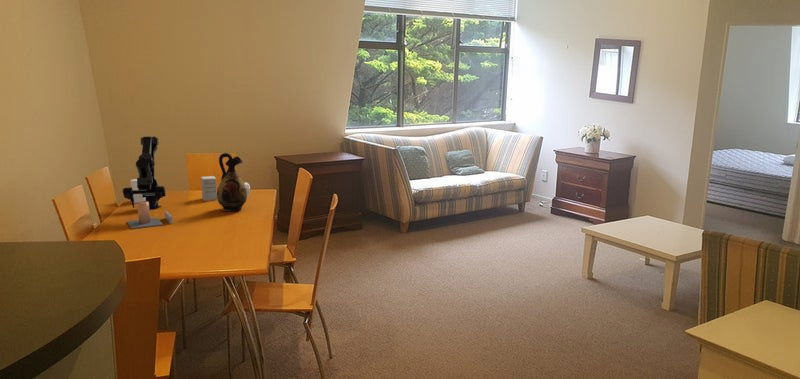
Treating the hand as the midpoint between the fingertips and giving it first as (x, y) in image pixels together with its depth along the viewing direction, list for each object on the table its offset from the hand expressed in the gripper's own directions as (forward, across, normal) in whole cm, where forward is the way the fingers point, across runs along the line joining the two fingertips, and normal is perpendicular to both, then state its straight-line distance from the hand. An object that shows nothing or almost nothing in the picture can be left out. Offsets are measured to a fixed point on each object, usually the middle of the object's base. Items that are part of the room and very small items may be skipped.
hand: (143, 206), depth 284 cm
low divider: (+5, +10, +6) cm, 13 cm away
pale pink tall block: (+6, 0, +4) cm, 7 cm away
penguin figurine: (-26, +45, +38) cm, 65 cm away
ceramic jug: (-7, +40, +19) cm, 45 cm away
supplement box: (-26, +29, +38) cm, 54 cm away
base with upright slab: (-28, -9, +40) cm, 50 cm away
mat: (+7, 0, +4) cm, 8 cm away
